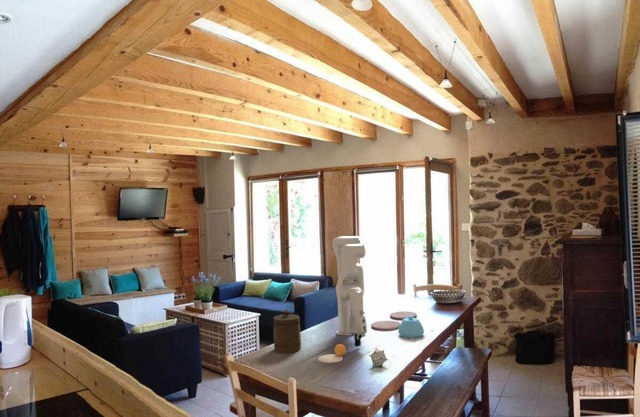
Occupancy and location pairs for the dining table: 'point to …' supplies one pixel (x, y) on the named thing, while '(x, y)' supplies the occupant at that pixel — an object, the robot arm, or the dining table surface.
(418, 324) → the sugar bowl
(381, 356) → the game die
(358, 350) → the dining table surface
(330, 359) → the cream disc
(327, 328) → the dining table surface
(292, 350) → the wooden container
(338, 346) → the ball
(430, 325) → the dining table surface
